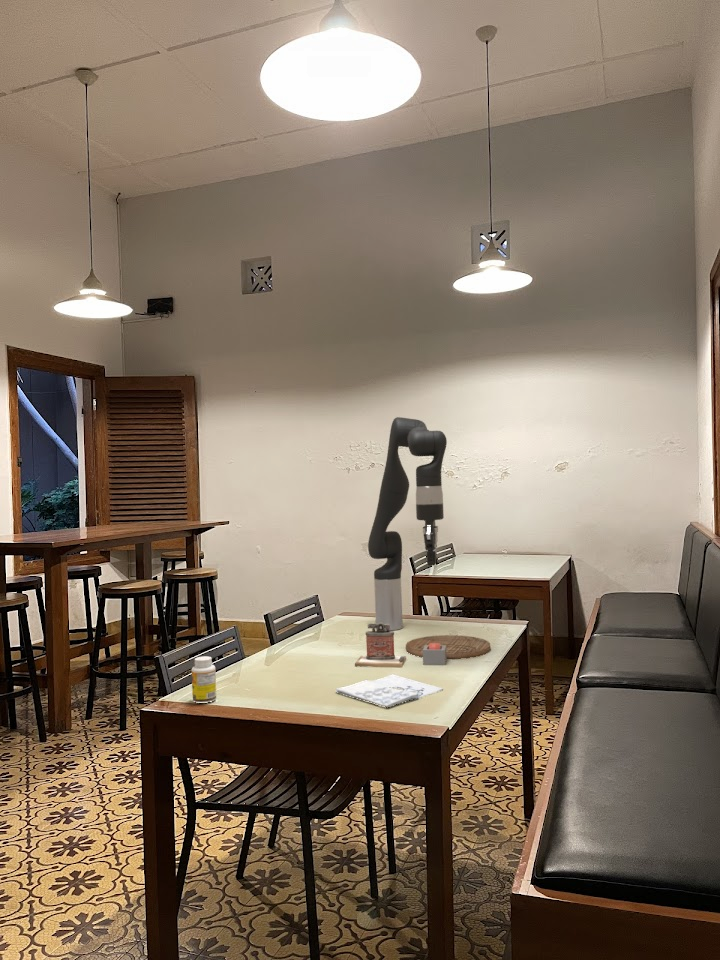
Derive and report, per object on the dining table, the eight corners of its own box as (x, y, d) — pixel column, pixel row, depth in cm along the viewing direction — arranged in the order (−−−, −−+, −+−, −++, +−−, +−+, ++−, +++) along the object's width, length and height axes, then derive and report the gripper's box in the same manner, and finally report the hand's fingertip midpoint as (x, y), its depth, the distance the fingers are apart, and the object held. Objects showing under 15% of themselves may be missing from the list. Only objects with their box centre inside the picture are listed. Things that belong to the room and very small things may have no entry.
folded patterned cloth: (333, 695, 177) (333, 686, 177) (394, 678, 190) (394, 670, 190) (386, 712, 162) (386, 702, 162) (448, 693, 175) (448, 684, 175)
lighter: (395, 657, 206) (394, 621, 206) (394, 660, 203) (393, 623, 203) (367, 657, 207) (365, 622, 207) (365, 660, 203) (364, 624, 203)
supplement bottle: (195, 698, 176) (194, 655, 176) (218, 697, 176) (217, 654, 176) (190, 705, 171) (188, 661, 171) (213, 704, 170) (212, 660, 170)
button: (429, 657, 205) (429, 642, 205) (441, 658, 204) (440, 642, 204) (428, 660, 201) (428, 645, 201) (440, 660, 201) (439, 645, 201)
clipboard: (361, 658, 210) (361, 653, 210) (406, 659, 207) (405, 654, 207) (354, 666, 201) (354, 661, 201) (401, 667, 198) (401, 662, 198)
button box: (425, 659, 206) (424, 645, 206) (446, 659, 205) (446, 645, 205) (423, 664, 200) (422, 650, 200) (445, 665, 199) (444, 650, 199)
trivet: (418, 639, 234) (418, 633, 234) (497, 643, 225) (496, 637, 225) (395, 658, 210) (395, 651, 210) (481, 663, 202) (481, 656, 202)
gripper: (441, 503, 196) (443, 567, 196) (444, 501, 209) (447, 562, 209) (413, 503, 197) (415, 568, 197) (418, 502, 210) (420, 562, 210)
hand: (431, 564), depth 203 cm, fingers closed
